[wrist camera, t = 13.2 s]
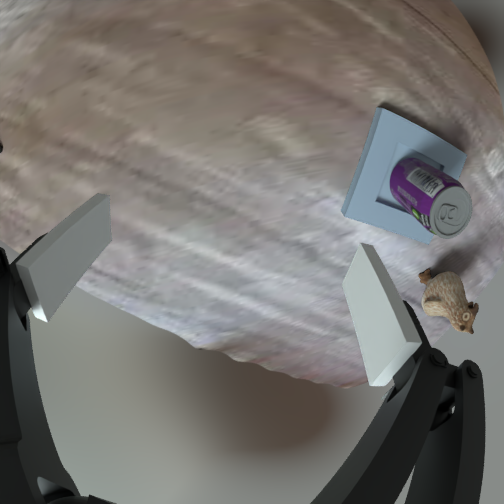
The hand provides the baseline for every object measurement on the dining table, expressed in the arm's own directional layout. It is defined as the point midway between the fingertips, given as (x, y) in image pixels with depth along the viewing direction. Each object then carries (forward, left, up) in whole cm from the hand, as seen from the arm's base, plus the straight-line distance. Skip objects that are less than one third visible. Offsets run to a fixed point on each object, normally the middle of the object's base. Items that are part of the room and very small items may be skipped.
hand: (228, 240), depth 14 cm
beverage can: (-3, +22, -24) cm, 33 cm away
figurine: (+12, +37, -25) cm, 46 cm away
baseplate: (-3, +22, -25) cm, 34 cm away
